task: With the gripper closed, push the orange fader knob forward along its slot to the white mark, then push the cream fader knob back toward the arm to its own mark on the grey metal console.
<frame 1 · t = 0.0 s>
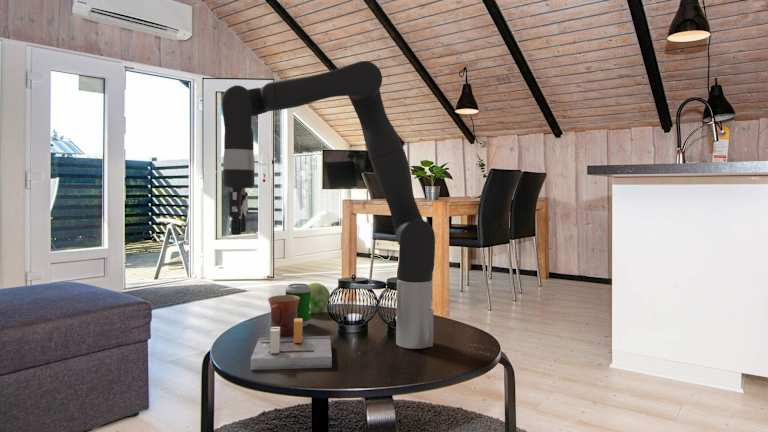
hand: (238, 233, 130), 29 cm above the table, fingers open, 8 cm apart
mug: (281, 336, 143), on the table
console: (293, 356, 125), on the table
soda can: (297, 325, 156), on the table
fader orange: (298, 330, 129), point 5 cm above the table, slide at 0.0 cm
fader cream: (275, 339, 120), point 5 cm above the table, slide at 0.0 cm
decorative ball: (314, 313, 171), on the table
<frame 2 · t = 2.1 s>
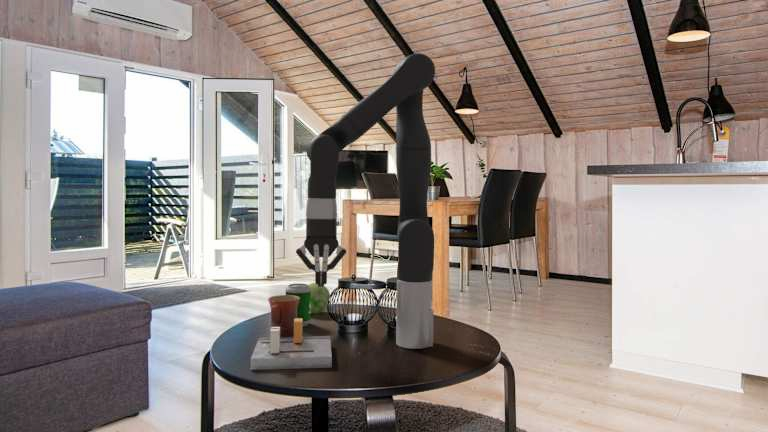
hand: (320, 286, 129), 16 cm above the table, fingers closed
nothing on the table moved.
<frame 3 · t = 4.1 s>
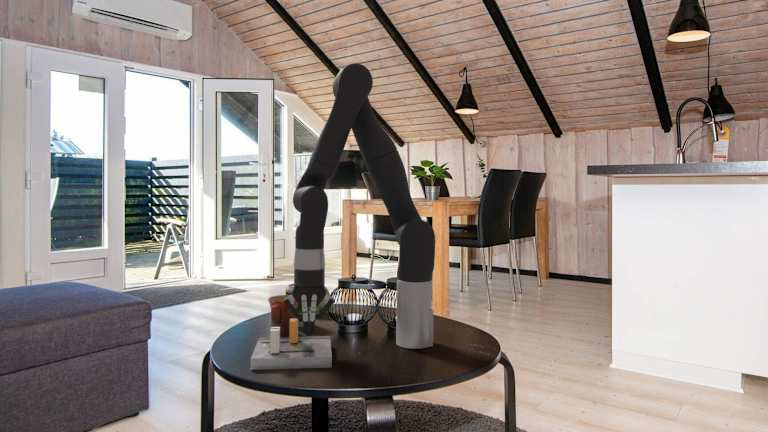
hand: (308, 335, 129), 4 cm above the table, fingers closed
fader orange: (293, 330, 129), point 5 cm above the table, slide at 1.1 cm, touching gripper
everything else where it was.
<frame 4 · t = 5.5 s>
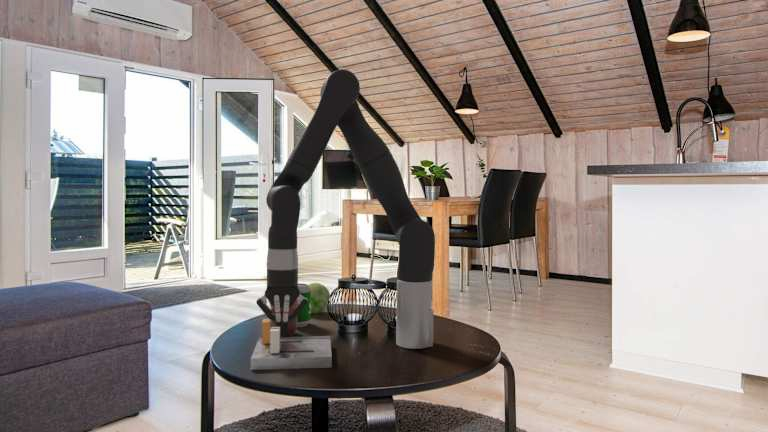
hand: (282, 335, 128), 4 cm above the table, fingers closed
fader orange: (266, 330, 128), point 5 cm above the table, slide at 7.6 cm, touching gripper
everything else where it was.
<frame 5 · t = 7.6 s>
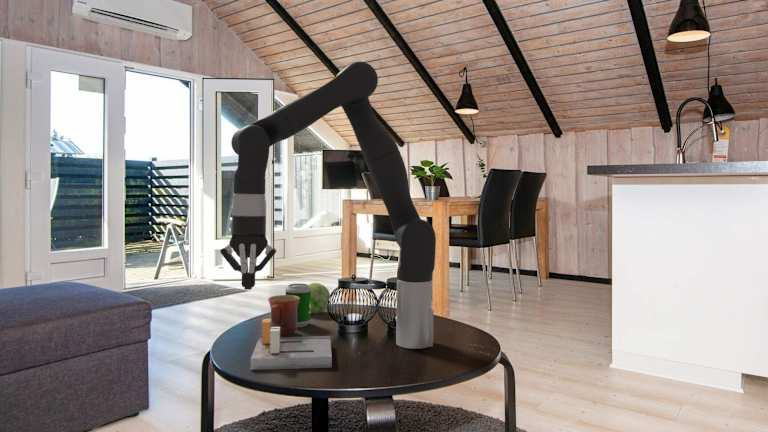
hand: (248, 288, 119), 17 cm above the table, fingers closed
fader orange: (266, 330, 128), point 5 cm above the table, slide at 7.7 cm
everything else where it was.
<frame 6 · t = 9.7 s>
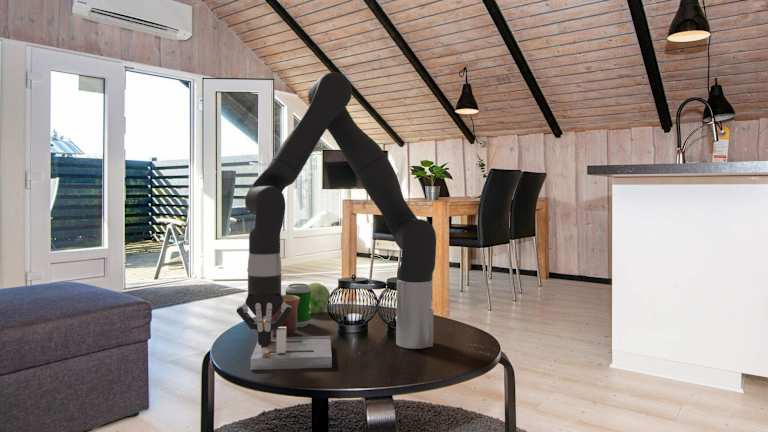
hand: (264, 346, 120), 4 cm above the table, fingers closed
fader cream: (281, 339, 120), point 5 cm above the table, slide at 1.4 cm, touching gripper
everything else where it was.
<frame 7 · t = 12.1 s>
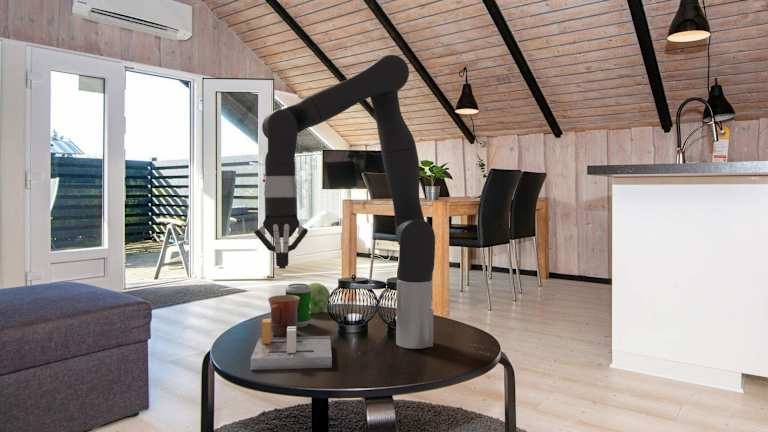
hand: (282, 268, 124), 22 cm above the table, fingers closed
fader cream: (291, 339, 121), point 5 cm above the table, slide at 3.7 cm
everything else where it was.
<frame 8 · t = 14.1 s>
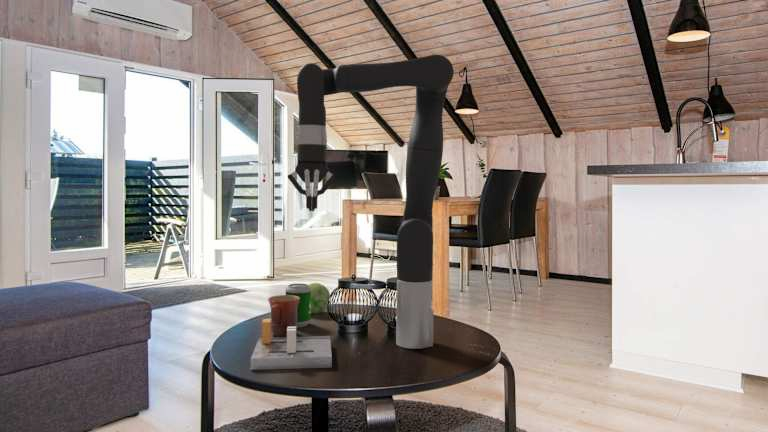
hand: (311, 210, 135), 35 cm above the table, fingers closed
nothing on the table moved.
at the end: fader orange slide at 7.7 cm; fader cream slide at 3.7 cm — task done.
